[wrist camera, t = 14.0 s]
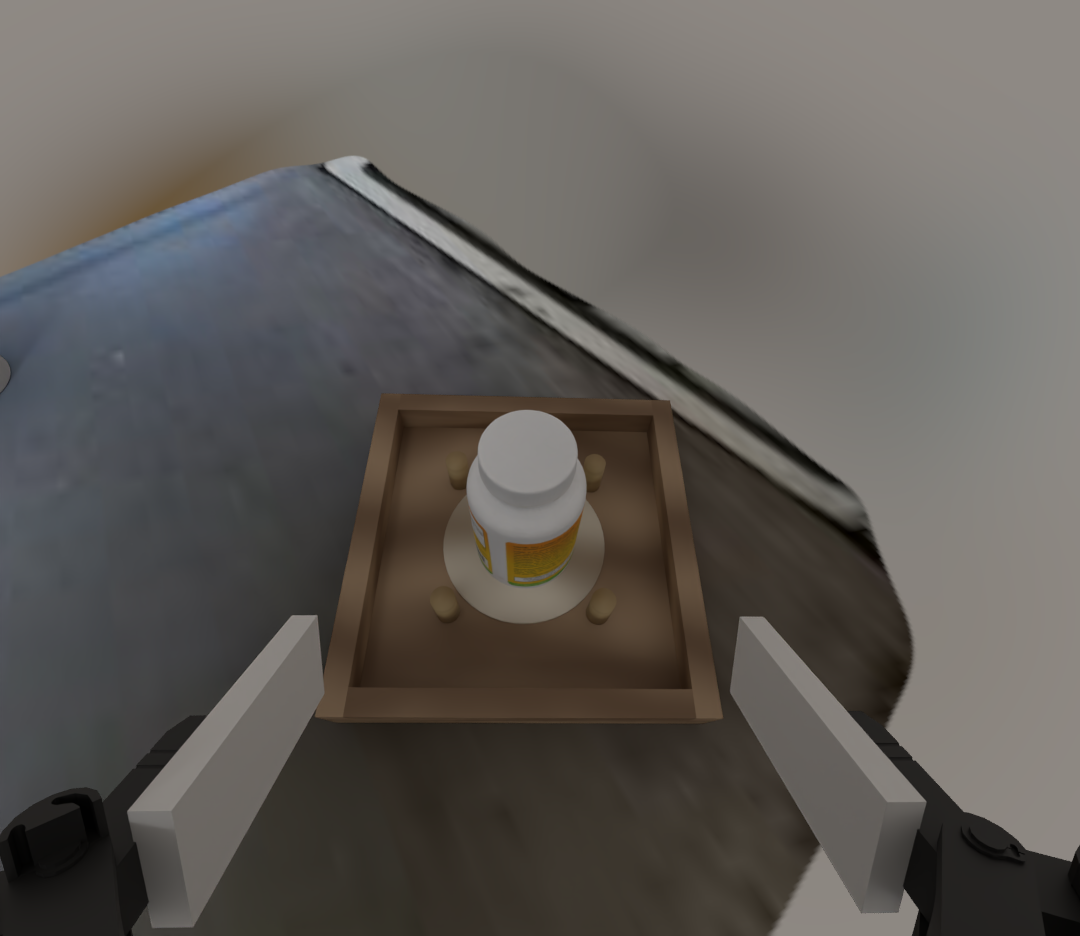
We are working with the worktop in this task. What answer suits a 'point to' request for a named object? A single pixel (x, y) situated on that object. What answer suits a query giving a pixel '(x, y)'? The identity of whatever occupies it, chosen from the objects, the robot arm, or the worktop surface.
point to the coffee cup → (4, 373)
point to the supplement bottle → (526, 498)
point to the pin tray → (520, 613)
